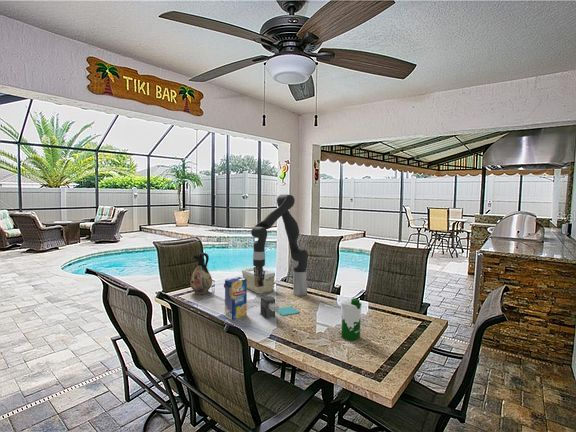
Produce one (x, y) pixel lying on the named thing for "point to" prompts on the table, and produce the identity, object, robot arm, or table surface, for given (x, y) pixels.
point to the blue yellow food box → (235, 298)
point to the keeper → (264, 309)
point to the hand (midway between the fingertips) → (259, 284)
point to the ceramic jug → (201, 275)
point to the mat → (287, 311)
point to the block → (258, 282)
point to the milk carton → (351, 319)
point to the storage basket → (267, 280)
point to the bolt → (272, 306)
